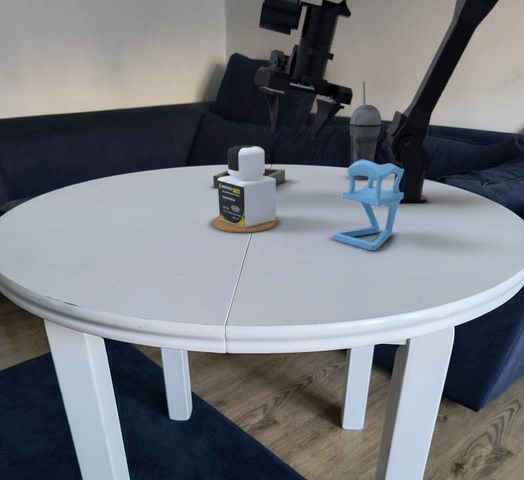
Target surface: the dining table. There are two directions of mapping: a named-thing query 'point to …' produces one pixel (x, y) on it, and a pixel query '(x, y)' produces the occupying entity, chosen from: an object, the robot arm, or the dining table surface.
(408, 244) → the dining table surface
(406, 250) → the dining table surface
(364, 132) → the beverage cup
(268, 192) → the medicine bottle
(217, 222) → the cork coaster
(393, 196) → the chair
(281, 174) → the bottle holder
